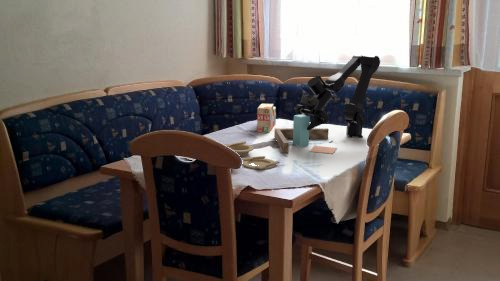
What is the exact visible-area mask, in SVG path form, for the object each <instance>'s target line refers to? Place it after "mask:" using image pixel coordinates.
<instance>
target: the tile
mask: <svg viewBox="0 0 500 281" xmlns="http://www.w3.org/2000/svg"><path fill="white" fill-rule="evenodd" d="M337 149H338V148H337V147H331V146H321V145H313V146H312V148H311V149H310V150H309V152H310V153H320V154H326V155H327V154H328V155H329V154H330V155H333V154H334V153H335V152H336V150H337Z"/></svg>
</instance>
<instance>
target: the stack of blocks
mask: <svg viewBox="0 0 500 281" xmlns="http://www.w3.org/2000/svg"><path fill="white" fill-rule="evenodd" d="M276 109H277V107H276V106H274V103H261V104H259V106H258V107H257V112H256V113H257V114H256V115H257V116H256V120H257V122H256V132H257V133H262V132H264V133H263V134H270V133H271V131H272V130H273V128H274V127H275V125H276V124H277V123H276V122H277V120H276V118H277V112H276V111H277V110H276Z"/></svg>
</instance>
